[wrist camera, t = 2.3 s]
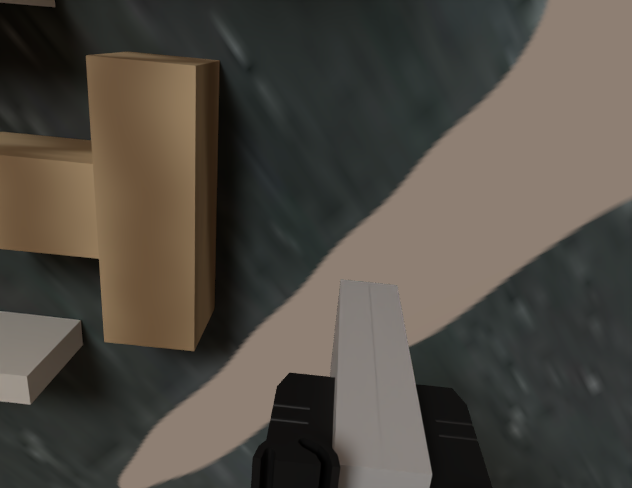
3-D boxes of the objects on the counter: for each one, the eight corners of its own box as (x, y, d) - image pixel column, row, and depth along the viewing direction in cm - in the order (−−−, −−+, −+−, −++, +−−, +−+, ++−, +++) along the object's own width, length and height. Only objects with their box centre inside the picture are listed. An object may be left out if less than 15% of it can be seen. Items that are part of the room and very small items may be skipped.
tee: (219, 60, 23) (195, 65, 20) (214, 308, 28) (194, 351, 24) (-11, 38, 23) (-78, 39, 20) (20, 288, 28) (-30, 327, 24)
